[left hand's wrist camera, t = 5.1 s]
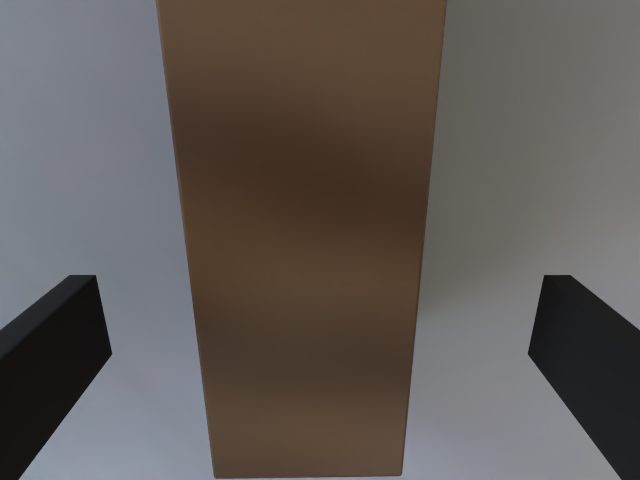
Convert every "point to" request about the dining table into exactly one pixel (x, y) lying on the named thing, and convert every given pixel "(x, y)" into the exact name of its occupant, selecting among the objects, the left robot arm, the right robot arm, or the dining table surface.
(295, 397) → the post
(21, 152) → the dining table surface
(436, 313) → the dining table surface
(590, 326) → the left robot arm
